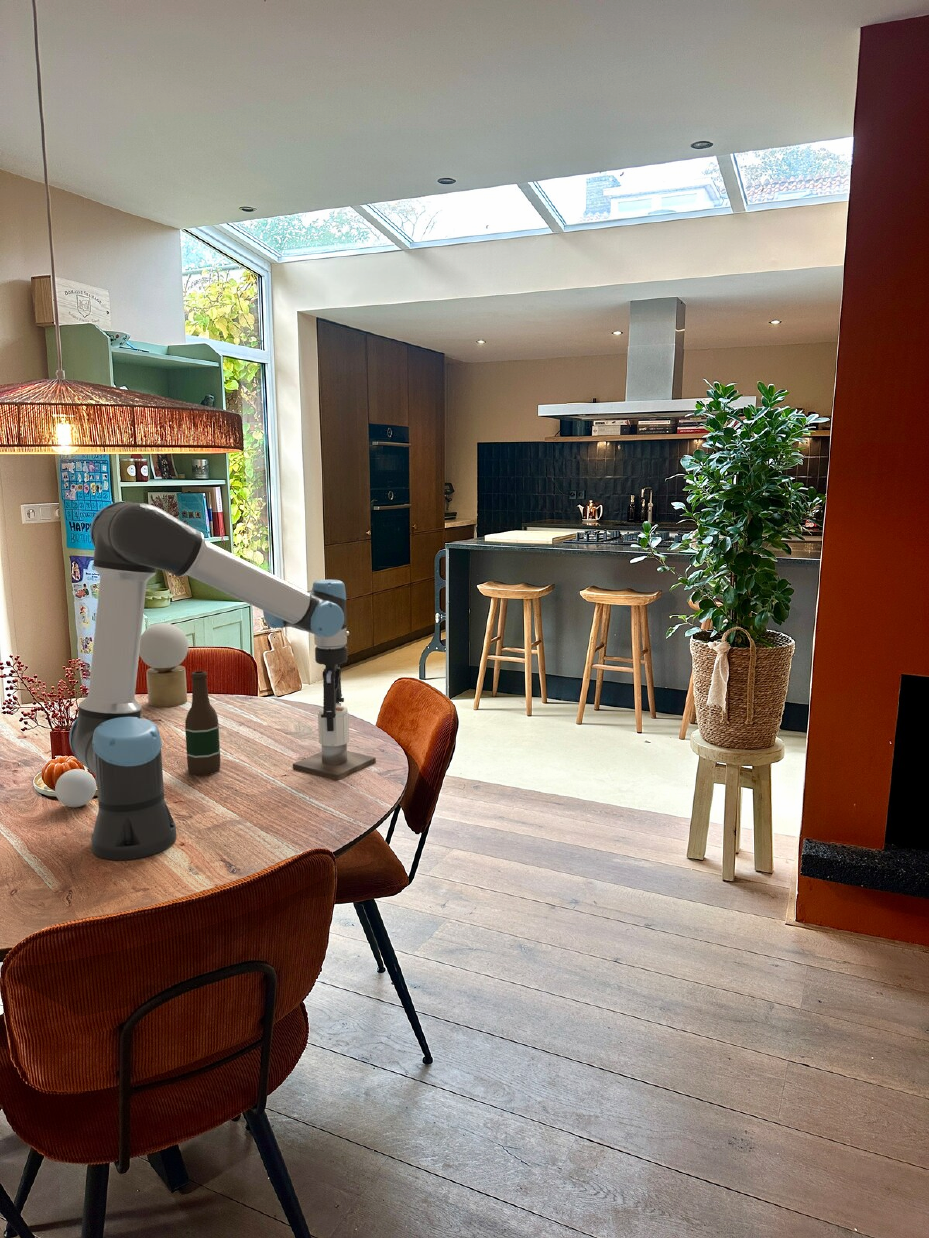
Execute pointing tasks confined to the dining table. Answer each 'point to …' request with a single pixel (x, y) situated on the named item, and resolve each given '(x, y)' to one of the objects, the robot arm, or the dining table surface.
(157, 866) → the dining table surface
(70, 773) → the ball
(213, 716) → the beer bottle
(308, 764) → the post block
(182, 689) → the lamp
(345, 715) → the canister
